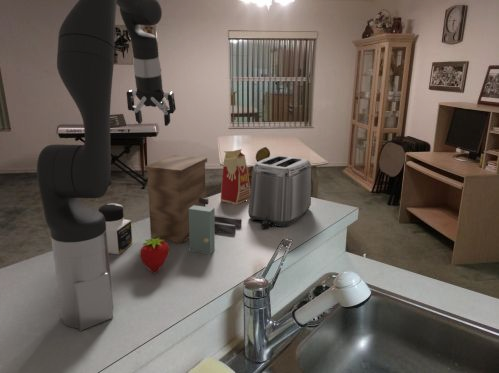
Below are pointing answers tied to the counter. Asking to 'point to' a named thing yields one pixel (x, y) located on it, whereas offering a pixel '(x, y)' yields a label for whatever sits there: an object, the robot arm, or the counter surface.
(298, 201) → the toaster
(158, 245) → the strawberry
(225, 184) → the milk carton
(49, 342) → the counter surface
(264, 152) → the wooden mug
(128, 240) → the medicine bottle
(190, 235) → the gray-green rectangular block
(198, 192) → the wooden cabinet
